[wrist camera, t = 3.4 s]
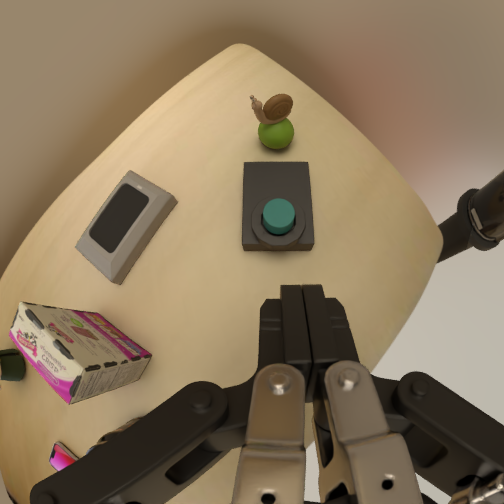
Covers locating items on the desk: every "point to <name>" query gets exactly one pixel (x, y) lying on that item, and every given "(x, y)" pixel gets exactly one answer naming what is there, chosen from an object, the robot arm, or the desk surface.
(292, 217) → the push button
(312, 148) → the desk surface
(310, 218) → the black button base
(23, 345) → the candy bar box
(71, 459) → the smartphone
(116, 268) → the grey bevelled block
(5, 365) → the character mug
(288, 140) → the snail figurine
